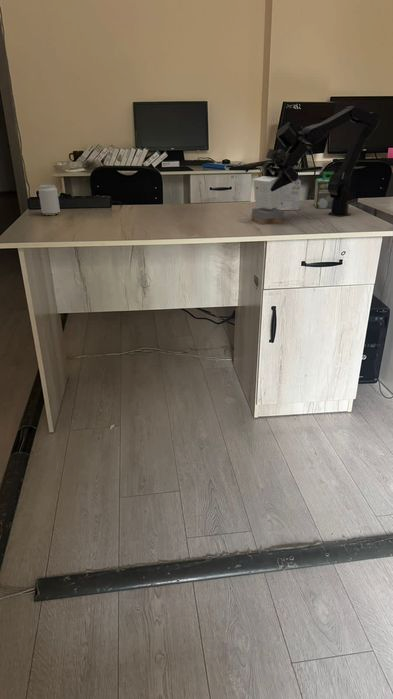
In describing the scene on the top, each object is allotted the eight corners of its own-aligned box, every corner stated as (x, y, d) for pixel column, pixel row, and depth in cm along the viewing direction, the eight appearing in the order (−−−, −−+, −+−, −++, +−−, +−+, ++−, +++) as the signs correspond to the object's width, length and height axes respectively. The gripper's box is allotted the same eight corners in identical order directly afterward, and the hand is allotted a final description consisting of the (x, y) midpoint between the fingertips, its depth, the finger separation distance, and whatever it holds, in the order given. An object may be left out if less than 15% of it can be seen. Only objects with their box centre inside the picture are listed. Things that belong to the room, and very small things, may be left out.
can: (57, 216, 212) (53, 186, 207) (39, 216, 212) (35, 186, 207) (62, 212, 219) (58, 183, 214) (45, 213, 219) (40, 184, 214)
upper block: (272, 213, 201) (272, 207, 200) (283, 217, 194) (284, 211, 193) (252, 215, 198) (252, 208, 197) (262, 219, 191) (263, 212, 190)
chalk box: (334, 205, 227) (337, 170, 220) (337, 208, 219) (341, 172, 212) (313, 204, 228) (316, 170, 221) (315, 208, 220) (318, 172, 213)
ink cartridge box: (298, 208, 221) (300, 173, 215) (299, 210, 216) (302, 174, 210) (275, 208, 222) (277, 173, 215) (276, 210, 217) (278, 175, 210)
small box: (280, 205, 193) (279, 177, 188) (270, 209, 190) (268, 181, 185) (265, 202, 199) (263, 175, 193) (255, 206, 196) (253, 179, 191)
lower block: (271, 219, 203) (272, 213, 202) (282, 224, 195) (283, 217, 194) (251, 221, 200) (251, 215, 199) (261, 226, 192) (261, 219, 191)
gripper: (268, 139, 193) (241, 171, 195) (293, 141, 177) (263, 177, 179) (285, 159, 199) (259, 191, 201) (310, 164, 183) (282, 198, 185)
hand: (265, 188), depth 191 cm, fingers closed on small box, 9 cm apart
